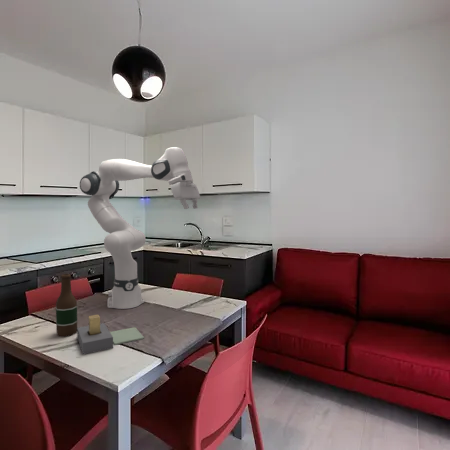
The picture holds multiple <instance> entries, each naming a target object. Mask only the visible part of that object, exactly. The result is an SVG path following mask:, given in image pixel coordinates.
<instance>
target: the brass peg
mask: <svg viewBox="0 0 450 450" xmlns="http://www.w3.org/2000/svg"><path fill="white" fill-rule="evenodd" d="M87 319H88V326H89V336H90V335H95V334H100V324H101V317H100V315H99V314H93V315H88V318H87Z"/></svg>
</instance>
